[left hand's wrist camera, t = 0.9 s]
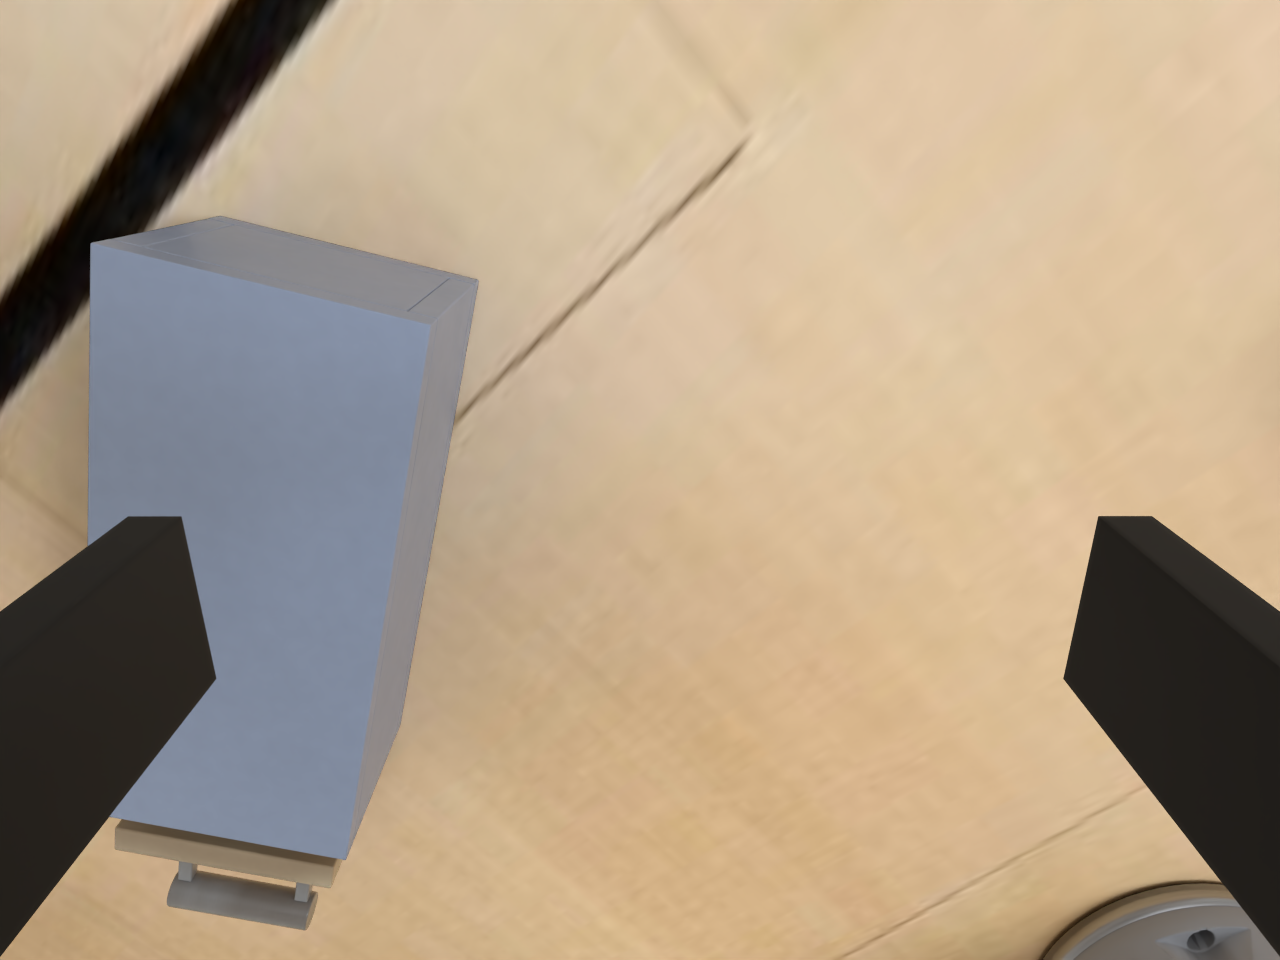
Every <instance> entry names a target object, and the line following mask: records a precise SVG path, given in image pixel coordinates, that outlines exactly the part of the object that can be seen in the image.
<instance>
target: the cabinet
mask: <svg viewBox="0 0 1280 960" xmlns="http://www.w3.org/2000/svg"><path fill="white" fill-rule="evenodd" d="M478 282H479V281H478V280H477V279H473V278H469V277H465V276H460V275H456V274H452V273H448V272H444V271H440V270H436V269H432V268H428V267H424V266H420V265H416V264H412V263H408V262H404V261H400V260H396V259H392V258H388V257H384V256H380V255H376V254H372V253H368V252H364V251H360V250H356V249H352V248H348V247H344V246H340V245H336V244H332V243H328V242H323V241H319V240H315V239H311V238H307V237H303V236H299V235H295V234H291V233H287V232H283V231H279V230H275V229H271V228H267V227H263V226H259V225H255V224H251V223H247V222H243V221H239V220H235V219H231V218H227V217H223V216H218V217H213V218H209V219H204V220H200V221H195V222H190V223H185V224H181V225H176V226H171V227H166V228H162V229H157V230H152V231H147V232H143V233H138V234H133V235H128V236H123V237H119V238H114V239H108V240H103V241H98V242H93V243H91V247H90V353H89V459H88V546H89V545H90V544H92V543H93V542H94V541H96V540H97V539H98V538H100V537H101V536H102V535H104V534H105V533H106V532H108V531H109V530H110V529H112V528H113V527H114V526H116V525H117V524H118V523H120V522H121V521H122V520H124V519H125V518H126V517H128V516H182V521H183V525H184V530H185V535H186V539H187V544H188V549H189V553H190V558H191V562H192V567H193V572H194V576H195V581H196V586H197V590H198V595H199V600H200V604H201V609H202V614H203V618H204V623H205V628H206V632H207V637H208V641H209V646H210V651H211V655H212V660H213V665H214V669H215V674H216V680H215V681H214V683H213V684H212V685H211V686H210V688H209V689H208V690H207V692H206V693H205V694H204V695H203V697H202V698H201V699H200V701H199V702H198V703H197V704H196V706H195V707H194V708H193V710H192V711H191V712H190V713H189V715H188V716H187V717H186V719H185V720H184V721H183V722H182V724H181V725H180V726H179V728H178V729H177V730H176V731H175V733H174V734H173V735H172V737H171V738H170V739H169V740H168V742H167V743H166V744H165V746H164V747H163V748H162V749H161V751H160V752H159V753H158V755H157V756H156V757H155V758H154V760H153V761H152V762H151V764H150V765H149V766H148V767H147V769H146V770H145V771H144V773H143V774H142V775H141V776H140V778H139V779H138V780H137V782H136V783H135V784H134V785H133V787H132V788H131V789H130V791H129V792H128V793H127V794H126V796H125V797H124V798H123V800H122V801H121V802H120V803H119V805H118V806H117V807H116V809H115V810H114V811H113V812H112V814H111V815H110V816H109V817H114V818H119V819H124V820H130V821H135V822H141V823H146V824H152V825H157V826H163V827H168V828H173V829H179V830H184V831H190V832H195V833H201V834H206V835H211V836H217V837H222V838H228V839H233V840H239V841H244V842H250V843H255V844H260V845H266V846H271V847H277V848H282V849H288V850H293V851H299V852H304V853H309V854H315V855H320V856H326V857H331V858H337V859H342V860H346V858H347V856H348V854H349V851H350V849H351V846H352V844H353V840H354V838H355V836H356V833H357V831H358V828H359V826H360V823H361V821H362V818H363V816H364V813H365V811H366V808H367V806H368V804H369V801H370V799H371V796H372V794H373V791H374V789H375V786H376V784H377V781H378V779H379V776H380V774H381V771H382V769H383V766H384V764H385V761H386V759H387V756H388V754H389V751H390V749H391V746H392V744H393V741H394V739H395V736H396V734H397V732H398V729H399V727H400V724H401V718H402V712H403V707H404V701H405V695H406V690H407V684H408V678H409V673H410V667H411V661H412V656H413V650H414V644H415V639H416V633H417V627H418V622H419V616H420V610H421V605H422V599H423V593H424V588H425V582H426V576H427V571H428V565H429V559H430V554H431V548H432V542H433V537H434V531H435V525H436V520H437V514H438V509H439V503H440V497H441V492H442V486H443V480H444V475H445V469H446V463H447V458H448V452H449V446H450V441H451V435H452V429H453V424H454V418H455V412H456V407H457V401H458V395H459V390H460V384H461V378H462V373H463V367H464V361H465V356H466V350H467V344H468V339H469V333H470V327H471V322H472V316H473V310H474V305H475V299H476V293H477V288H478Z"/></svg>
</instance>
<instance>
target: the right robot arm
mask: <svg viewBox="0 0 1280 960" xmlns="http://www.w3.org/2000/svg"><path fill="white" fill-rule="evenodd" d="M1043 960H1280V956H1279V955H1278V954H1277V953H1276V951H1275V950H1274V949H1273V947H1272V946H1271V945H1270V944H1269V942H1268V941H1267V940H1266V938H1265V937H1264V936H1263V935H1262V933H1261V932H1260V931H1259V929H1258V928H1257V927H1256V926H1255V924H1254V923H1253V922H1252V920H1251V919H1250V918H1249V917H1248V915H1247V914H1246V913H1245V911H1244V910H1243V909H1242V908H1241V906H1240V905H1239V904H1238V902H1237V901H1236V900H1235V899H1234V897H1233V896H1232V895H1231V893H1230V892H1229V891H1228V890H1227V888H1226V887H1225V886H1224V885H1221V884H1205V883H1200V884H1182V885H1173V886H1167V887H1161V888H1156V889H1152V890H1148V891H1144V892H1141V893H1138V894H1134V895H1131V896H1129V897H1126V898H1123V899H1121V900H1118V901H1116V902H1114V903H1112V904H1110V905H1107V906H1105V907H1103V908H1101V909H1100V910H1098V911H1096V912H1094V913H1092V914H1091V915H1089V916H1088V917H1086V918H1085V919H1083V920H1082V921H1080V922H1079V923H1077V924H1076V925H1075V926H1074V927H1072V928H1071V929H1070V930H1068V931H1067V932H1066V933H1065V934H1064V935H1063V936H1062V937H1061V938H1060V939H1059V940H1058V941H1057V942H1056V943H1055V944H1054V945H1053V946H1052V947H1051V949H1050V950H1049V951H1048V953H1047V954H1046V955H1045V957H1044V958H1043Z"/></svg>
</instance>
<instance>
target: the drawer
mask: <svg viewBox="0 0 1280 960" xmlns="http://www.w3.org/2000/svg"><path fill="white" fill-rule="evenodd" d="M115 849H116V850H121V851H126V852H132V853H137V854H143V855H148V856H154V857H159V858H165V859H170V860H176V861H179V871H178V873H177V874H176V876H175V878H174V880H173V882H172V884H171V887H170V890H169V893H168V897H167V905H168V906H169V907H175V908H180V909H186V910H192V911H197V912H203V913H209V914H214V915H220V916H226V917H231V918H237V919H243V920H249V921H254V922H260V923H266V924H271V925H277V926H283V927H288V928H294V929H300V930H307V928H308V927H309V925H310V922H311V920H312V917H313V914H314V911H315V907H316V903H317V898H318V892H315V891H312V885H314V886H320V887H326V888H331V886H332V884H333V882H334V879H335V877H336V875H337V872H338V870H339V867H340V865H341V862H342V859H337V858H331V857H326V856H320V855H315V854H309V853H304V852H299V851H293V850H288V849H282V848H277V847H271V846H266V845H260V844H255V843H250V842H244V841H239V840H233V839H228V838H222V837H217V836H211V835H206V834H201V833H195V832H190V831H184V830H179V829H173V828H168V827H163V826H157V825H152V824H146V823H141V822H135V821H130V820H124V819H122V820H121V821H120V823H119V824H118V825H117V827H116V828H115ZM197 864H198V865H204V866H209V867H215V868H220V869H226V870H231V871H237V872H242V873H248V874H254V875H259V876H265V877H270V878H276V879H281V880H287V881H292V882H297V883H296V888H293V887H287V886H282V885H276V884H270V883H265V882H259V881H254V880H248V879H243V878H237V877H232V876H226V875H220V874H215V873H209V872H204V871H198V870H197Z"/></svg>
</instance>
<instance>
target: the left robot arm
mask: <svg viewBox="0 0 1280 960" xmlns="http://www.w3.org/2000/svg"><path fill="white" fill-rule="evenodd" d="M215 680H216V674H215V669H214V665H213V660H212V655H211V651H210V646H209V641H208V637H207V632H206V628H205V623H204V618H203V614H202V609H201V604H200V600H199V595H198V590H197V586H196V581H195V576H194V572H193V567H192V562H191V558H190V553H189V549H188V544H187V539H186V535H185V530H184V525H183V521H182V516H128V517H126V518H125V519H124V520H122V521H121V522H120V523H118V524H117V525H116V526H114V527H113V528H112V529H110V530H109V531H108V532H106V533H105V534H104V535H102V536H101V537H100V538H98V539H97V540H96V541H94V542H93V543H92V544H90V545H89V546H88V547H86V548H85V549H84V550H82V551H81V552H80V553H78V554H77V555H75V556H74V557H73V558H71V559H70V560H69V561H67V562H66V563H65V564H63V565H62V566H61V567H59V568H58V569H57V570H55V571H54V572H53V573H51V574H50V575H49V576H47V577H46V578H45V579H43V580H42V581H41V582H39V583H38V584H37V585H35V586H34V587H33V588H31V589H30V590H29V591H27V592H26V593H25V594H23V595H22V596H21V597H19V598H18V599H16V600H15V601H14V602H12V603H11V604H10V605H8V606H7V607H6V608H4V609H3V610H2V611H0V956H1V955H2V954H3V953H4V951H5V950H6V949H7V947H8V946H9V945H10V944H11V942H12V941H13V940H14V938H15V937H16V936H17V935H18V933H19V932H20V931H21V929H22V928H23V927H24V926H25V924H26V923H27V922H28V920H29V919H30V918H31V917H32V915H33V914H34V913H35V911H36V910H37V909H38V908H39V906H40V905H41V904H42V902H43V901H44V900H45V899H46V897H47V896H48V895H49V893H50V892H51V891H52V890H53V888H54V887H55V886H56V884H57V883H58V882H59V881H60V879H61V878H62V877H63V875H64V874H65V873H66V872H67V870H68V869H69V868H70V866H71V865H72V864H73V863H74V861H75V860H76V859H77V857H78V856H79V855H80V854H81V852H82V851H83V850H84V848H85V847H86V846H87V845H88V843H89V842H90V841H91V839H92V838H93V837H94V836H95V834H96V833H97V832H98V830H99V829H100V828H101V827H102V825H103V824H104V823H105V821H106V820H107V819H108V818H109V816H110V815H111V814H112V812H113V811H114V810H115V809H116V807H117V806H118V805H119V803H120V802H121V801H122V800H123V798H124V797H125V796H126V794H127V793H128V792H129V791H130V789H131V788H132V787H133V785H134V784H135V783H136V782H137V780H138V779H139V778H140V776H141V775H142V774H143V773H144V771H145V770H146V769H147V767H148V766H149V765H150V764H151V762H152V761H153V760H154V758H155V757H156V756H157V755H158V753H159V752H160V751H161V749H162V748H163V747H164V746H165V744H166V743H167V742H168V740H169V739H170V738H171V737H172V735H173V734H174V733H175V731H176V730H177V729H178V728H179V726H180V725H181V724H182V722H183V721H184V720H185V719H186V717H187V716H188V715H189V713H190V712H191V711H192V710H193V708H194V707H195V706H196V704H197V703H198V702H199V701H200V699H201V698H202V697H203V695H204V694H205V693H206V692H207V690H208V689H209V688H210V686H211V685H212V684H213V683H214V681H215ZM1064 680H1065V681H1066V683H1067V684H1068V685H1069V686H1070V688H1071V689H1072V690H1073V692H1074V693H1075V694H1076V695H1077V697H1078V698H1079V699H1080V701H1081V702H1082V703H1083V704H1084V706H1085V707H1086V708H1087V710H1088V711H1089V712H1090V713H1091V715H1092V716H1093V717H1094V719H1095V720H1096V721H1097V722H1098V724H1099V725H1100V726H1101V728H1102V729H1103V730H1104V731H1105V733H1106V734H1107V735H1108V737H1109V738H1110V739H1111V740H1112V742H1113V743H1114V744H1115V746H1116V747H1117V748H1118V749H1119V751H1120V752H1121V753H1122V755H1123V756H1124V757H1125V758H1126V760H1127V761H1128V762H1129V764H1130V765H1131V766H1132V767H1133V769H1134V770H1135V771H1136V773H1137V774H1138V775H1139V776H1140V778H1141V779H1142V780H1143V782H1144V783H1145V784H1146V785H1147V787H1148V788H1149V789H1150V791H1151V792H1152V793H1153V794H1154V796H1155V797H1156V798H1157V800H1158V801H1159V802H1160V803H1161V805H1162V806H1163V807H1164V809H1165V810H1166V811H1167V812H1168V814H1169V815H1170V816H1171V818H1172V819H1173V820H1174V821H1175V823H1176V824H1177V825H1178V827H1179V828H1180V829H1181V830H1182V832H1183V833H1184V834H1185V836H1186V837H1187V838H1188V839H1189V841H1190V842H1191V843H1192V845H1193V846H1194V847H1195V848H1196V850H1197V851H1198V852H1199V854H1200V855H1201V856H1202V857H1203V859H1204V860H1205V861H1206V863H1207V864H1208V865H1209V866H1210V868H1211V869H1212V870H1213V872H1214V873H1215V874H1216V875H1217V877H1218V878H1219V879H1220V881H1221V882H1222V883H1223V884H1224V886H1225V887H1226V888H1227V890H1228V891H1229V892H1230V893H1231V895H1232V896H1233V897H1234V899H1235V900H1236V901H1237V902H1238V904H1239V905H1240V906H1241V908H1242V909H1243V910H1244V911H1245V913H1246V914H1247V915H1248V917H1249V918H1250V919H1251V920H1252V922H1253V923H1254V924H1255V926H1256V927H1257V928H1258V929H1259V931H1260V932H1261V933H1262V935H1263V936H1264V937H1265V938H1266V940H1267V941H1268V942H1269V944H1270V945H1271V946H1272V947H1273V949H1274V950H1275V951H1276V953H1277V954H1278V955H1279V956H1280V611H1278V610H1277V609H1276V608H1274V607H1273V606H1272V605H1270V604H1269V603H1268V602H1266V601H1265V600H1264V599H1262V598H1261V597H1259V596H1258V595H1257V594H1255V593H1254V592H1253V591H1251V590H1250V589H1249V588H1247V587H1246V586H1245V585H1243V584H1242V583H1241V582H1239V581H1238V580H1237V579H1235V578H1234V577H1233V576H1231V575H1230V574H1229V573H1227V572H1226V571H1225V570H1223V569H1222V568H1221V567H1219V566H1218V565H1217V564H1215V563H1214V562H1213V561H1211V560H1210V559H1209V558H1207V557H1206V556H1205V555H1203V554H1202V553H1200V552H1199V551H1198V550H1196V549H1195V548H1194V547H1192V546H1191V545H1190V544H1188V543H1187V542H1186V541H1184V540H1183V539H1182V538H1180V537H1179V536H1178V535H1176V534H1175V533H1174V532H1172V531H1171V530H1170V529H1168V528H1167V527H1166V526H1164V525H1163V524H1162V523H1160V522H1159V521H1158V520H1156V519H1155V518H1154V517H1152V516H1098V521H1097V525H1096V530H1095V535H1094V539H1093V544H1092V549H1091V553H1090V558H1089V562H1088V567H1087V572H1086V576H1085V581H1084V586H1083V590H1082V595H1081V600H1080V604H1079V609H1078V614H1077V618H1076V623H1075V628H1074V632H1073V637H1072V641H1071V646H1070V651H1069V655H1068V660H1067V665H1066V669H1065V674H1064Z"/></svg>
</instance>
